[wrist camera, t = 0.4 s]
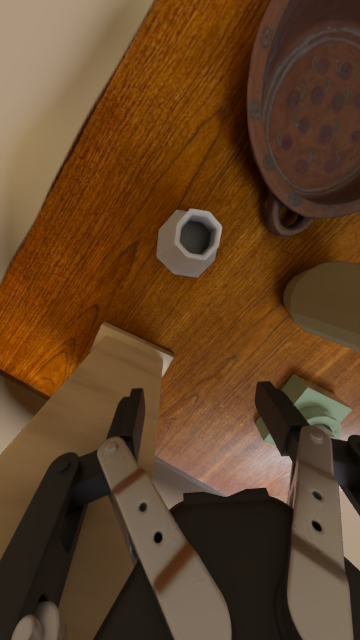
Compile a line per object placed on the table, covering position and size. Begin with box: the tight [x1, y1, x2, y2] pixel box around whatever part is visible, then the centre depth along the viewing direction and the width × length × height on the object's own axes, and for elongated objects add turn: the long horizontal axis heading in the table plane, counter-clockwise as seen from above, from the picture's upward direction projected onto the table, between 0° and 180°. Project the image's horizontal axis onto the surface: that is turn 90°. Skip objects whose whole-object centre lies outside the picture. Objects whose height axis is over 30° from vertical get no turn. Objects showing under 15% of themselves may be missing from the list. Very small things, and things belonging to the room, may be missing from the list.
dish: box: [247, 0, 360, 237], centre depth 17 cm, size 17×22×5 cm
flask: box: [156, 208, 222, 278], centre depth 18 cm, size 7×7×10 cm
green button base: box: [255, 374, 353, 446], centre depth 28 cm, size 10×8×5 cm
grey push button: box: [313, 424, 337, 439], centre depth 25 cm, size 4×4×2 cm
